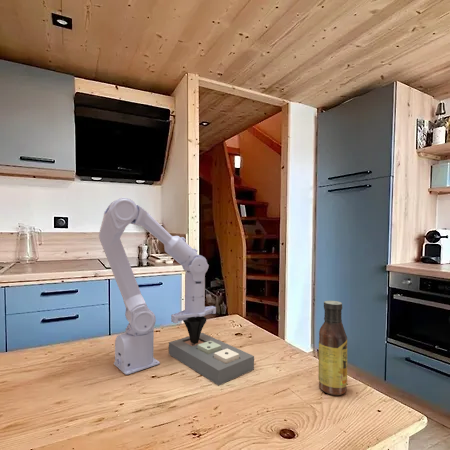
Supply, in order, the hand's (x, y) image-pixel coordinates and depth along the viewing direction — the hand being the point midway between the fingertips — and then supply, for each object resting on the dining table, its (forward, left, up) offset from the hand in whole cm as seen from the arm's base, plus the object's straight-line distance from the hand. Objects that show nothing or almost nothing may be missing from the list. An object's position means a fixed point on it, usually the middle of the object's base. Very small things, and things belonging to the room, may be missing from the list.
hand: (194, 342), depth 89 cm
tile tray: (0, -7, -3) cm, 8 cm away
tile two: (0, -7, 0) cm, 7 cm away
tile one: (0, -14, 0) cm, 14 cm away
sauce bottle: (+13, -36, -3) cm, 38 cm away
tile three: (0, 0, -2) cm, 2 cm away
